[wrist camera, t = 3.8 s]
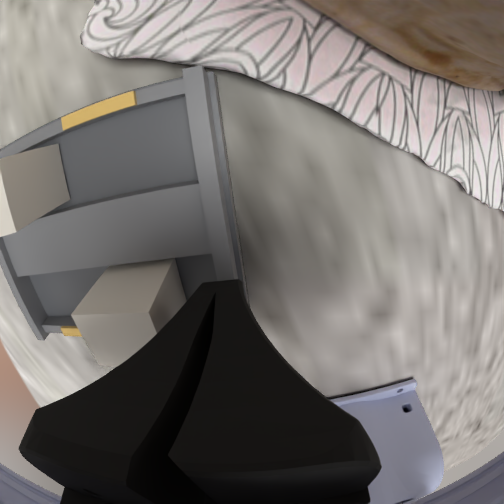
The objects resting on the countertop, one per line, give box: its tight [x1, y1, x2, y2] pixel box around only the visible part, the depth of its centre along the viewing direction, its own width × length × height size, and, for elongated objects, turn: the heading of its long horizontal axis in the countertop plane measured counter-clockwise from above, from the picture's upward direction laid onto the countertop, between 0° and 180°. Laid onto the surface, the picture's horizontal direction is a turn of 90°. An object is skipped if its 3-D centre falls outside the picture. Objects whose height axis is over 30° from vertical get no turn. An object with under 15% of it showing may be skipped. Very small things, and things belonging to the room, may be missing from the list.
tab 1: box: [0, 144, 70, 237], centre depth 7 cm, size 3×2×4 cm
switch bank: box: [0, 65, 250, 340], centre depth 10 cm, size 12×10×2 cm
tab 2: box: [71, 258, 186, 367], centre depth 10 cm, size 3×2×4 cm
